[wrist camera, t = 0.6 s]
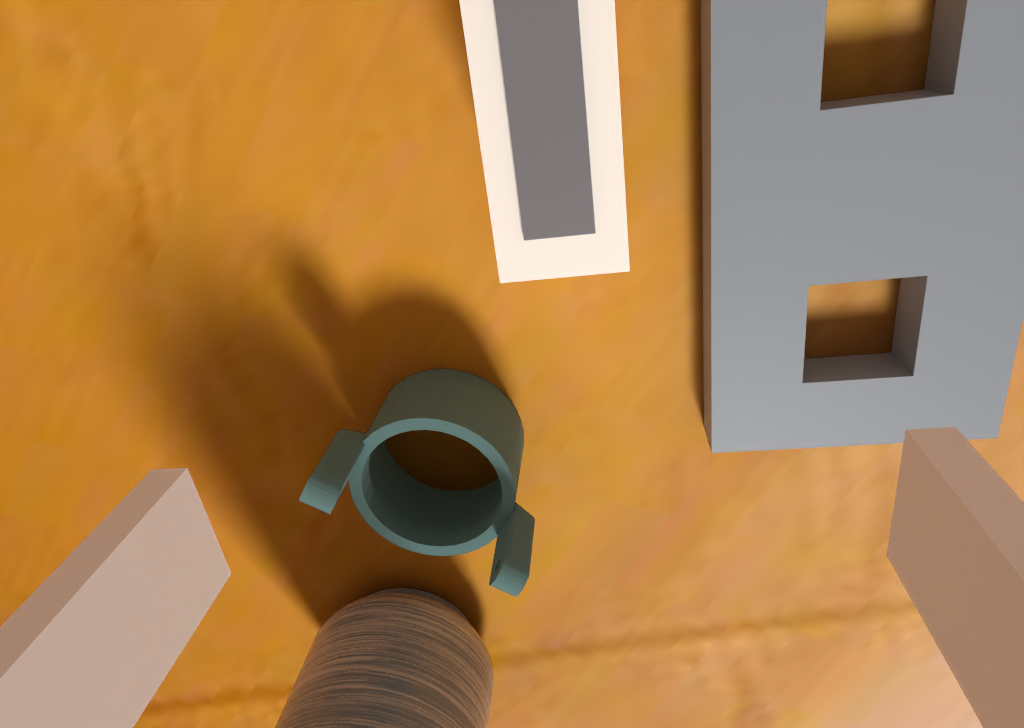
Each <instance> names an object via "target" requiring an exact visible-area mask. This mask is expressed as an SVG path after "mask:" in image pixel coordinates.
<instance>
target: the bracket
mask: <svg viewBox="0 0 1024 728" xmlns="http://www.w3.org/2000/svg"><path fill="white" fill-rule="evenodd" d="M412 430H432V431H440V432H444V433H447V434H451V435H454V436H456V437H458V438H460V439H463V440H465V441H467V442H468V443H470V444H471V445H473V446H474V447H476V448H477V449H478V450H479V451H480V452H481V453H482V454H483V455H485V456H486V457H487V458H488V460H489V461H490V463H491V464H492V465H493V467H494V468H495V470H496V472H497V475H498V477H499V478H498V479H496V480H495V481H493V482H491V483H489V484H488V485H485V486H482V487H479V488H477V489H471V490H466V491H450V490H443V489H438V488H435V487H431V486H428V485H426V484H424V483H422V482H420V481H418V480H416V479H415V478H413V477H412V476H410V475H409V474H407V473H406V472H405V471H404V470H403V469H402V468H401V467H400V466H399V465H398V464H397V463H396V461H395V460H394V459H393V458H392V456H391V454H390V452H389V450H388V448H387V446H386V443H385V440H386V439H387V438H389V437H392V436H394V435H397V434H399V433H403V432H407V431H412ZM523 445H524V431H523V427H522V423H521V419H520V417H519V415H518V413H517V410H516V408H515V407H514V406H513V404H512V403H511V401H510V400H509V399H508V397H507V396H506V395H505V394H504V393H502V392H501V391H500V390H499V389H498V388H497V387H495V386H494V385H493V384H491V383H490V382H488V381H487V380H485V379H483V378H480V377H478V376H476V375H474V374H471V373H467V372H464V371H459V370H452V369H433V370H428V371H422V372H419V373H417V374H414V375H411V376H409V377H407V378H406V379H404V380H402V381H401V382H399V383H398V384H397V385H396V386H395V387H394V388H393V389H392V390H391V391H390V392H389V394H388V396H387V398H386V399H385V401H384V403H383V405H382V407H381V409H380V411H379V412H378V414H377V416H376V418H375V420H374V422H373V423H372V425H371V427H370V429H369V431H368V433H364V432H358V431H352V430H346V429H340V430H339V431H338V432H337V434H336V435H335V437H334V439H333V440H332V442H331V443H330V445H329V447H328V448H327V450H326V452H325V453H324V455H323V456H322V458H321V460H320V461H319V463H318V464H317V466H316V468H315V469H314V471H313V473H312V474H311V476H310V477H309V479H308V481H307V483H306V485H305V487H304V489H303V492H302V494H301V496H300V499H299V501H301V502H303V503H306V504H308V505H310V506H312V507H315V508H317V509H319V510H321V511H324V512H326V513H328V514H331V512H332V510H333V508H334V506H335V504H336V502H337V500H338V499H339V497H340V495H341V493H342V491H343V489H344V487H345V485H346V483H347V482H348V480H349V487H350V493H351V496H352V499H353V502H354V504H355V506H356V508H357V510H358V511H359V513H360V515H361V516H362V518H363V519H364V520H365V521H366V523H367V524H368V525H369V526H370V527H371V528H373V529H374V530H375V531H376V532H377V533H378V534H379V535H381V536H382V537H384V538H385V539H387V540H388V541H390V542H392V543H393V544H395V545H397V546H399V547H401V548H404V549H407V550H410V551H413V552H416V553H421V554H425V555H434V556H453V555H459V554H464V553H468V552H471V551H474V550H477V549H479V548H481V547H483V546H485V545H486V544H488V543H490V542H491V541H492V540H493V539H495V538H496V537H497V542H496V548H495V554H494V559H493V565H492V571H491V576H490V582H489V585H490V586H492V587H495V588H497V589H499V590H501V591H504V592H506V593H508V594H510V595H513V596H517V595H519V593H520V592H521V591H522V589H523V588H524V586H525V584H526V582H527V579H528V577H529V572H530V562H531V553H532V543H533V533H534V524H535V519H534V517H533V516H532V515H530V514H529V513H528V512H527V511H526V510H524V509H523V508H522V507H521V506H520V505H518V504H517V503H516V502H515V500H516V493H517V486H518V479H519V473H520V466H521V459H522V452H523Z"/></svg>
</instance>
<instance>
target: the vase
mask: <svg viewBox="0 0 1024 728" xmlns="http://www.w3.org/2000/svg"><path fill="white" fill-rule="evenodd" d="M492 689H493V669H492V663H491V659H490V656H489V653H488V651H487V649H486V646H485V644H484V642H483V640H482V639H481V637H480V636H479V635H478V633H477V632H476V630H475V629H474V628H473V627H472V626H471V624H470V622H469V621H468V619H467V618H466V616H465V615H464V614H463V613H462V612H461V611H460V610H459V609H458V608H456V607H455V606H454V605H453V604H451V603H450V602H448V601H446V600H445V599H443V598H441V597H439V596H437V595H434V594H432V593H429V592H425V591H422V590H418V589H410V588H392V589H385V590H381V591H378V592H375V593H372V594H371V595H369V596H367V597H364V598H361V599H358V600H355V601H353V602H352V603H350V604H348V605H346V606H344V607H342V608H341V609H339V610H338V611H337V612H336V613H334V614H333V615H332V616H331V617H330V618H329V619H328V620H327V621H326V622H325V623H324V625H323V626H322V627H321V629H320V630H319V631H318V633H317V635H316V637H315V639H314V642H313V644H312V646H311V648H310V651H309V653H308V655H307V657H306V660H305V662H304V664H303V666H302V669H301V671H300V673H299V675H298V678H297V680H296V682H295V684H294V687H293V689H292V691H291V693H290V696H289V698H288V700H287V702H286V705H285V707H284V709H283V711H282V714H281V716H280V718H279V720H278V723H277V725H276V727H275V728H487V724H488V717H489V710H490V703H491V696H492Z"/></svg>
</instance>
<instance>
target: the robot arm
mask: <svg viewBox="0 0 1024 728" xmlns="http://www.w3.org/2000/svg"><path fill="white" fill-rule="evenodd" d="M887 557H888V559H889V560H890V562H891V564H892V566H893V567H894V569H895V571H896V573H897V575H898V576H899V578H900V580H901V582H902V583H903V585H904V587H905V589H906V591H907V592H908V594H909V596H910V598H911V599H912V601H913V603H914V605H915V607H916V608H917V610H918V612H919V614H920V615H921V617H922V619H923V621H924V623H925V624H926V626H927V628H928V630H929V632H930V633H931V635H932V637H933V639H934V640H935V642H936V644H937V646H938V648H939V649H940V651H941V653H942V655H943V656H944V658H945V660H946V662H947V664H948V665H949V667H950V669H951V671H952V672H953V674H954V676H955V678H956V680H957V681H958V683H959V685H960V687H961V688H962V690H963V692H964V694H965V696H966V697H967V699H968V701H969V703H970V704H971V706H972V708H973V710H974V712H975V713H976V715H977V717H978V719H979V720H980V722H981V724H982V726H983V728H1024V502H1023V501H1022V500H1021V499H1020V498H1019V497H1018V496H1017V494H1016V493H1015V492H1014V491H1013V490H1012V489H1011V488H1010V487H1009V486H1008V485H1007V483H1006V482H1005V481H1004V480H1003V479H1002V478H1001V477H1000V476H999V475H998V473H997V472H996V471H995V470H994V469H993V468H992V467H991V466H990V465H989V464H988V462H987V461H986V460H985V459H984V458H983V457H982V456H981V455H980V454H979V453H978V451H977V450H976V449H975V448H974V447H973V446H972V445H971V444H970V443H969V442H968V440H967V439H966V438H965V437H964V436H963V435H962V434H961V433H960V432H959V430H958V429H957V428H956V427H945V428H926V429H907V430H906V432H905V438H904V445H903V451H902V458H901V464H900V471H899V477H898V484H897V490H896V497H895V503H894V510H893V516H892V523H891V529H890V536H889V542H888V549H887ZM230 575H231V571H230V569H229V567H228V564H227V562H226V559H225V557H224V555H223V552H222V550H221V547H220V545H219V543H218V540H217V538H216V535H215V533H214V531H213V528H212V526H211V523H210V521H209V519H208V516H207V514H206V511H205V509H204V507H203V504H202V502H201V499H200V497H199V495H198V492H197V490H196V487H195V485H194V483H193V480H192V478H191V475H190V473H189V471H188V468H173V469H154V470H151V471H150V472H149V473H148V474H147V475H146V476H145V477H144V478H143V479H142V480H141V481H140V482H139V483H138V484H137V485H136V486H135V488H134V489H133V490H132V491H131V492H130V493H129V494H128V495H127V496H126V497H125V498H124V499H123V500H122V501H121V502H120V503H119V504H118V505H117V506H116V507H115V508H114V509H113V510H112V511H111V512H110V514H109V515H108V516H107V517H106V518H105V519H104V520H103V521H102V522H101V523H100V524H99V525H98V526H97V527H96V528H95V529H94V530H93V531H92V532H91V533H90V534H89V535H88V536H87V537H86V538H85V539H84V541H83V542H82V543H81V544H80V545H79V546H78V547H77V548H76V549H75V550H74V551H73V552H72V553H71V554H70V555H69V556H68V557H67V558H66V559H65V560H64V561H63V562H62V563H61V564H60V565H59V567H58V568H57V569H56V570H55V571H54V572H53V573H52V574H51V575H50V576H49V577H48V578H47V579H46V580H45V581H44V582H43V583H42V584H41V585H40V586H39V587H38V588H37V589H36V590H35V591H34V593H33V594H32V595H31V596H30V597H29V598H28V599H27V600H26V601H25V602H24V603H23V604H22V605H21V606H20V607H19V608H18V609H17V610H16V611H15V612H14V613H13V614H12V615H11V616H10V617H9V618H8V620H7V621H6V622H5V623H4V624H3V625H2V626H1V627H0V728H133V727H134V725H135V724H136V722H137V721H138V719H139V717H140V716H141V714H142V713H143V711H144V710H145V708H146V706H147V705H148V703H149V702H150V700H151V699H152V697H153V695H154V694H155V692H156V691H157V689H158V688H159V686H160V684H161V683H162V681H163V680H164V678H165V677H166V675H167V674H168V672H169V670H170V669H171V667H172V666H173V664H174V663H175V661H176V659H177V658H178V656H179V655H180V653H181V652H182V650H183V648H184V647H185V645H186V644H187V642H188V641H189V639H190V637H191V636H192V634H193V633H194V631H195V630H196V628H197V627H198V625H199V623H200V622H201V620H202V619H203V617H204V616H205V614H206V612H207V611H208V609H209V608H210V606H211V605H212V603H213V601H214V600H215V598H216V597H217V595H218V594H219V592H220V590H221V589H222V587H223V586H224V584H225V583H226V581H227V579H228V578H229V576H230Z"/></svg>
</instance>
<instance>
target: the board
mask: <svg viewBox="0 0 1024 728" xmlns="http://www.w3.org/2000/svg"><path fill="white" fill-rule="evenodd" d="M826 9H827V0H701V116H702V252H703V388H704V429H705V432H706V436H707V439H708V442H709V446H710V449H711V452H712V453H719V452H738V451H757V450H777V449H796V448H815V447H834V446H854V445H873V444H892V443H904V438H905V432H906V430H907V429H926V428H945V427H956V428H957V429H958V430H959V432H960V433H961V434H962V435H963V436H964V437H965V438H966V439H967V440H969V439H989V438H998V433H999V429H1000V424H1001V419H1002V415H1003V410H1004V405H1005V401H1006V396H1007V391H1008V387H1009V382H1010V377H1011V373H1012V368H1013V363H1014V359H1015V354H1016V349H1017V345H1018V340H1019V335H1020V331H1021V326H1022V321H1023V317H1024V0H935V7H934V15H933V23H932V31H931V39H930V47H929V55H928V63H927V71H926V79H925V87H924V89H922V90H914V91H905V92H897V93H889V94H881V95H873V96H865V97H856V98H848V99H840V100H832V101H824V102H821V87H822V71H823V56H824V40H825V25H826ZM894 278H900V286H899V294H898V302H897V310H896V318H895V325H894V333H893V341H892V349H891V353H877V354H863V355H849V356H834V357H820V358H806V359H804V351H805V336H806V320H807V305H808V289H809V286H812V285H823V284H835V283H847V282H859V281H870V280H882V279H894Z"/></svg>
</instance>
